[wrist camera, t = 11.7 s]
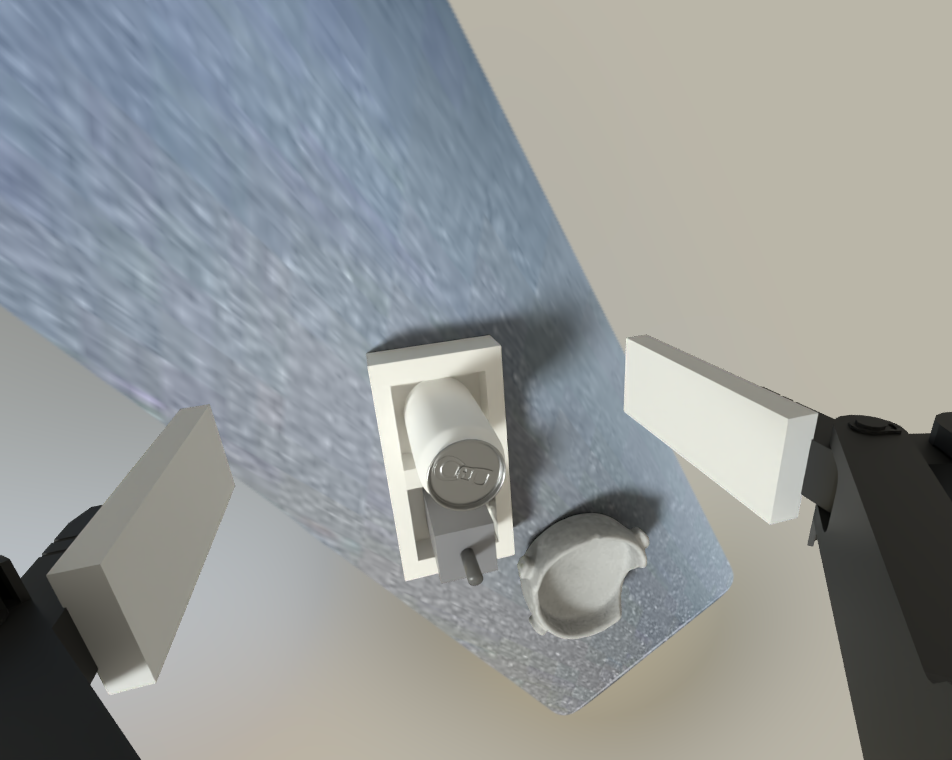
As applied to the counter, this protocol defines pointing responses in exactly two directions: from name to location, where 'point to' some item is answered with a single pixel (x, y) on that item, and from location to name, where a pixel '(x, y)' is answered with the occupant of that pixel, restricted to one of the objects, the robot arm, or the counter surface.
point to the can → (453, 445)
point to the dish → (579, 574)
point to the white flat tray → (390, 387)
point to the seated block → (461, 541)
